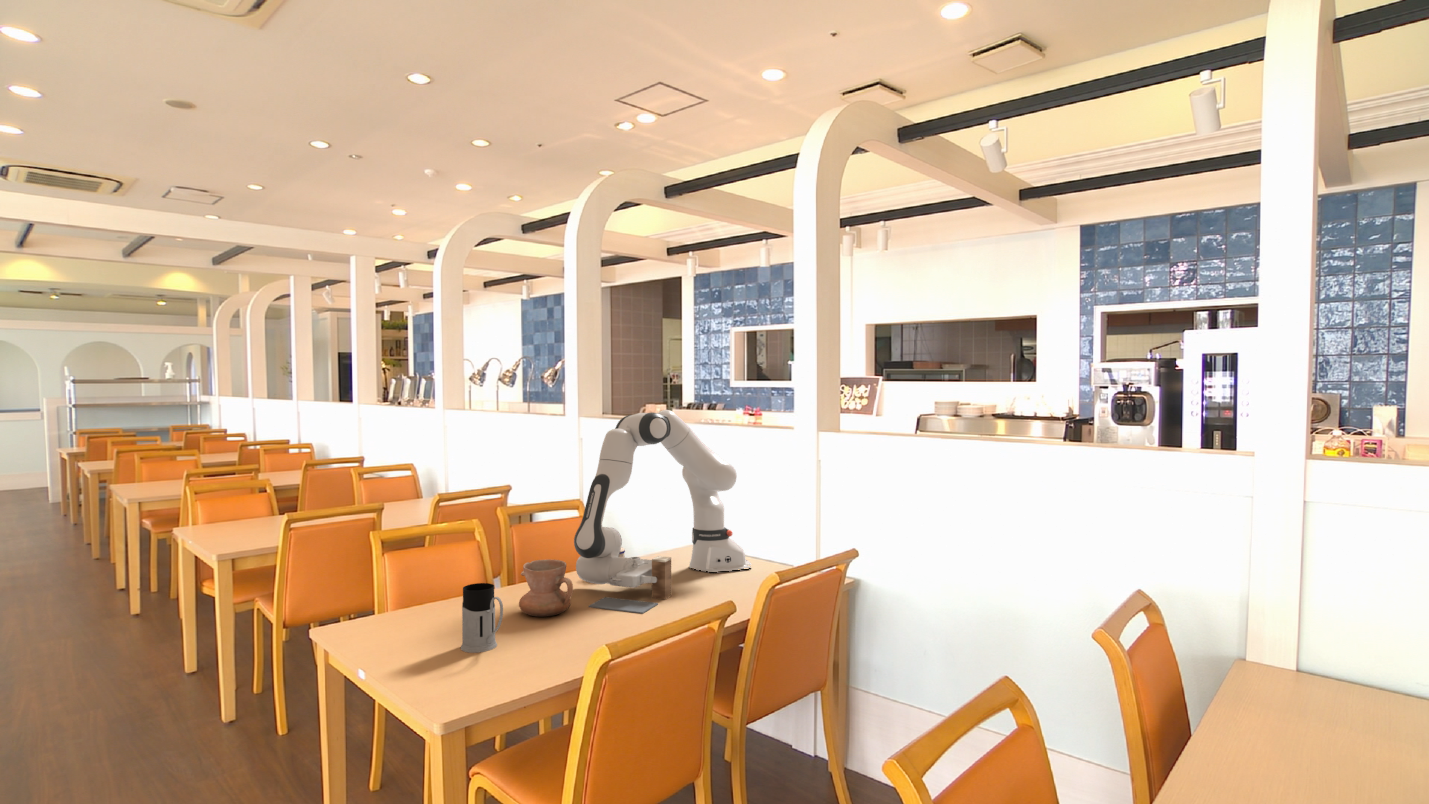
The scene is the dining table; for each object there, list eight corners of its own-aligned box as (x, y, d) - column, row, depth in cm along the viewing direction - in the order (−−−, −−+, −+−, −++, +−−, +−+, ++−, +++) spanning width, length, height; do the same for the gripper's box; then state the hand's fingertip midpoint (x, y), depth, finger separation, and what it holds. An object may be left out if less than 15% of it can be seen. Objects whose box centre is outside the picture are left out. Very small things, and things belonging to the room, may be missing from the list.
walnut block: (651, 597, 232) (651, 559, 232) (658, 594, 236) (658, 556, 236) (665, 599, 230) (665, 560, 230) (671, 595, 235) (671, 557, 234)
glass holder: (484, 638, 195) (483, 580, 194) (517, 650, 186) (517, 589, 185) (453, 647, 188) (453, 587, 188) (486, 660, 179) (486, 597, 179)
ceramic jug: (504, 615, 214) (504, 565, 214) (539, 601, 227) (539, 555, 227) (553, 626, 206) (554, 574, 205) (587, 611, 218) (587, 563, 218)
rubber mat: (588, 607, 222) (588, 605, 222) (605, 598, 231) (605, 597, 231) (643, 613, 216) (643, 612, 216) (658, 604, 225) (658, 603, 225)
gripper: (607, 569, 228) (648, 573, 223) (638, 555, 247) (676, 558, 242) (607, 590, 228) (648, 594, 223) (638, 574, 247) (676, 578, 242)
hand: (663, 576), depth 233 cm, fingers open, 8 cm apart
